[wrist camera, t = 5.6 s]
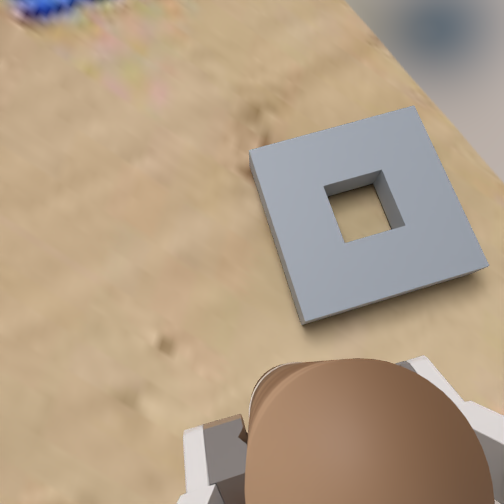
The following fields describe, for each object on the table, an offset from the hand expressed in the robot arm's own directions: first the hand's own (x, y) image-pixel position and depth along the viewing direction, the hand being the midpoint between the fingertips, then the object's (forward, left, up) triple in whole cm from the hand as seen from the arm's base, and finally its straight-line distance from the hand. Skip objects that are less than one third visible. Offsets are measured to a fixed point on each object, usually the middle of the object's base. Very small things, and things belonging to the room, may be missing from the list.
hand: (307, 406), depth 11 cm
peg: (0, -1, -7) cm, 7 cm away
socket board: (+10, +10, -20) cm, 25 cm away
